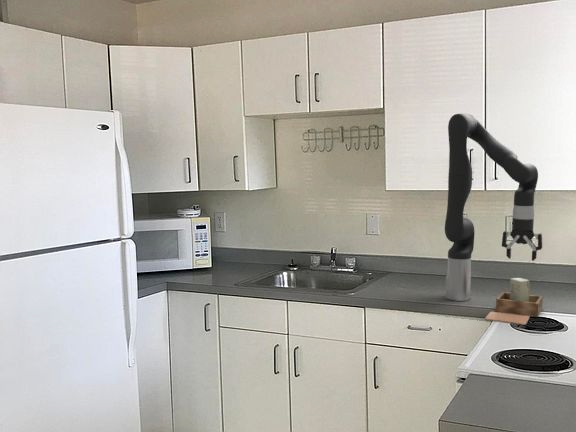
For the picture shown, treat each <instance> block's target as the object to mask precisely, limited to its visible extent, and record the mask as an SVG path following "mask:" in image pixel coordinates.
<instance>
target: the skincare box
mask: <svg viewBox="0 0 576 432" xmlns="http://www.w3.org/2000/svg"><path fill="white" fill-rule="evenodd" d="M530 284H531V283H530V279H529V280H528V279H525V278H523V277H513V278H510V286H509V287H510V289H509V291H510V292H509V293H510V300H514V301H523V302H529V295H530Z"/></svg>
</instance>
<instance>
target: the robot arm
mask: <svg viewBox="0 0 576 432" xmlns="http://www.w3.org/2000/svg"><path fill="white" fill-rule="evenodd" d="M447 131H448V144H449V145H448V146H449V147H448V148H449V152H448V153H449V154H448V158H449V159H448V178H447V179H448V181H447V183H448V185H447V186H448V187H447V192H448V193H447V206H446V208H447V209H446V215H445V223H444V234H445V237H446V239H447V240H448V241H450V242H451V243H453V244H452V246H451V247H450V248H449V249H448V251H447V275H446V276H445V299H447V300H451V301H457V302H465V301H466V302H467V301H469V300H470V299H471V283H472V281H471V280H472V279H471V278H472V277H471V274H472V273H471V272H472V253H473V252H474V247H475V246H474V245H475V225H474V223H473V222H472V221H471V219H469V218H467V217H464V210H465V206H466V202H467V201H468V198H469V195H470V194H471V190H472V186H473V167H472V164H471V160H470V158H469V157H470V156H469V155H468V151H467V144H468V143H467V142H468V139H470V140H472V141H474V142H475V143H476V144H478V145H479V146H480V147H481V148H482V150H484V152H485V154H486V155H487V156H488V157H489V159H491V160H492V161H493V162H494V163H495V164H497V165H499V167H501V168H502V169H503V170H504V172H505V173H506V174H507V175H508V176H509V177H510V178H511V180H513V181H514V182H516V183H518V187H517V189H516V190H515V191H514V194H513V209H512V218H511V219H512V224H511V231H508V230H504V231H503V232H502V238H501V239H502V241H501V247H503V248H505V249H506V257H507V258H508V259H511V258H512V248H511V247H512V246H513V245H514V244H515V243H516V244H517V245H520V244H522V245H527V244H528V246H529V247H530V248H531V249H532V251H531V261H532V262H534V261H535V260H536V259H537V252H538V251H540V250H542V249H543V234H542V232H540V233H534V223H535V222H534V220H535V206H534V205H535V191H536V189H537V185H538V180H539V171H538V168H537V166H535V165H534V164H532V163H523V162H522V161H520V160H519V158H518V156H517V154H516V153H515V152H514V151H513V150H511V149H510V148H509V147H508V146H506V145H505V144H503V143H502V142H501V141H500V140H498V139H497V138H496V137H495V136H494V135H493V134H491V132H489V131H488V129H486V128H485V127H484V126H483V124H482V123H481V122H480V121H479V120H478V119H477V118H476V117H475V116H474V115H473V114H470V113H456V114H453V115H452V116H451V118H450V119H449V120H448V125H447ZM508 237H511V238H512V240H511V241H510V242H509V243H507V242H508V241H507V240H508ZM534 237H535V239H536V240H537V245H536V244H535V242H534V241H533V240H532V239H533V238H534Z"/></svg>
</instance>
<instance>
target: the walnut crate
mask: <svg viewBox="0 0 576 432" xmlns="http://www.w3.org/2000/svg"><path fill="white" fill-rule="evenodd" d="M543 299H544V296H542V295H536V294H535V295H534V294H529V302H523V301H514V300H510V292H508V291H507V292H506V291H502V292H501V293H500V294H499V295H498V296H497V298H496V300H495V305H496V306H495V312H499V313H501V312H503V313H507V314H516V315H524V316H530V317H535V318H538V317H539V316H540V314H541V311H542V310H543V302H544V301H543Z"/></svg>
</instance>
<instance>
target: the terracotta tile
mask: <svg viewBox="0 0 576 432" xmlns="http://www.w3.org/2000/svg"><path fill="white" fill-rule="evenodd" d="M530 317H531V316H525V315H517V314H509V313H501V312H496V311H490V312H489V313H488V314H487V315H486V316H485V318H484V320H485V321H492V322H498V323H499V322H501V323H506V324H507V323H509V324H515V325H522V326H526V324H527V323H528V322H529V319H530Z"/></svg>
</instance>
